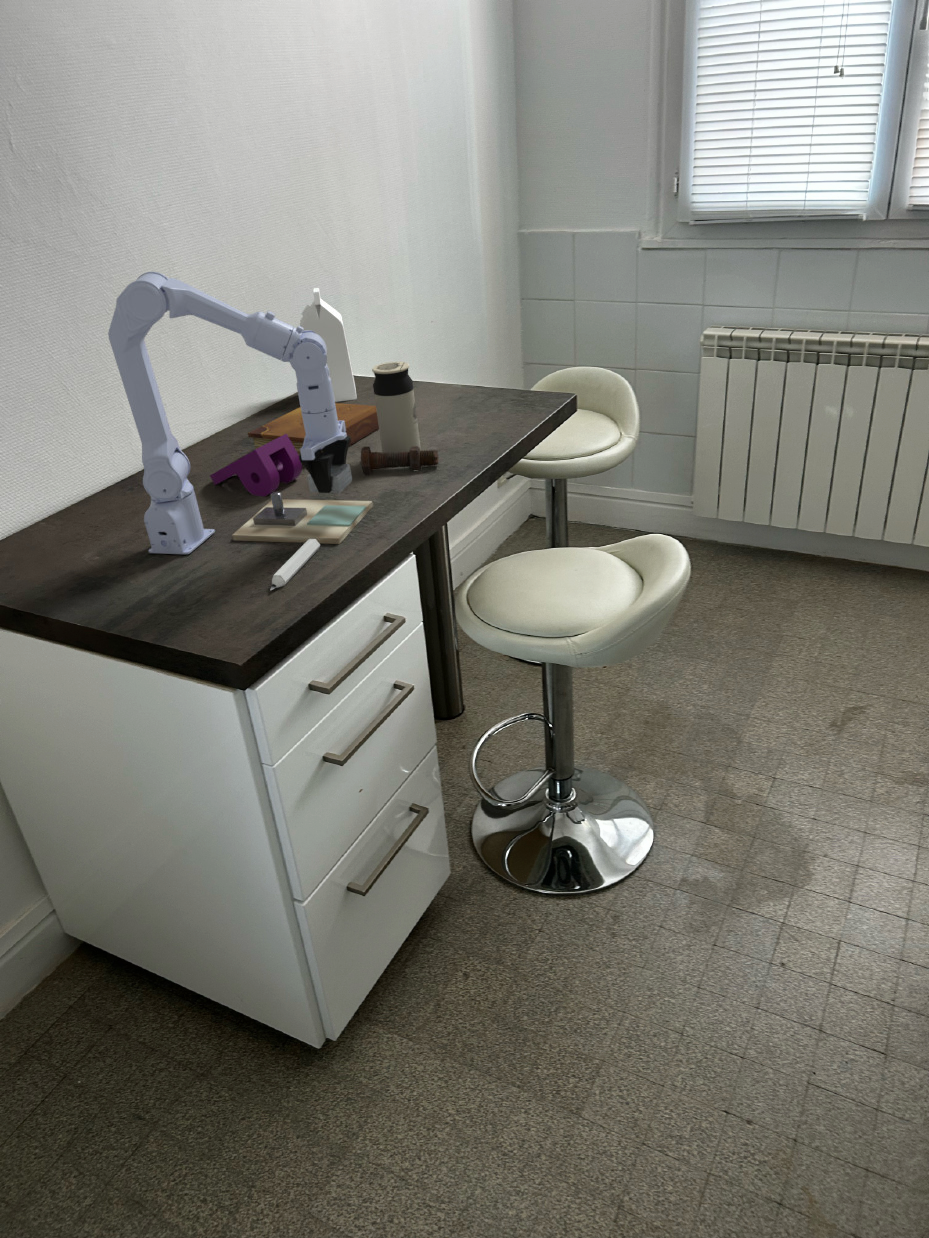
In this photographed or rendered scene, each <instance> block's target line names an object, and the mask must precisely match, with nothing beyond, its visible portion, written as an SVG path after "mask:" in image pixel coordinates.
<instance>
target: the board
mask: <svg viewBox="0 0 929 1238" xmlns="http://www.w3.org/2000/svg"><path fill="white" fill-rule="evenodd" d="M282 501H283V506H284V508H306V510H307V515H306V516H305V517H304V518H303V519H302V520H301V521H300V522H299V523H298V524H297V525H296V526H284V525H254V521H253V518H254V517H255V516H256V515H257V514H259V513H260V512H261V511H262V510H263V509H264V508H265V507H273V504H272V499H271V500H270V501H269V502H268V503H267V504H266V505H264V506H263V507H262V508H261V509H260V510H259V511H257V513H255V514H254V515H253V516H252V517H251V518H250V519H249V520H247V521H246V522H245V523H244V524H243V525H241V526H240V527H239V528H238V529H236V531H235V532H234V533H232V535H231V536H232V541H242V542H244V541H246V542H249V541H250V542H270V543H271V542H272V543H273V542H275V543H297V544H298V543H299V544H300V543H301V544H302V543H303V544H305V543H306V542H307V541H308V540H309V539H316V540H317V541H318V543H319V544H331V545H333V544H335V545H340V544H342V542H343V541H344V539H346V538H347V536H348V535H349V534H350V533H351V532H352V531H353V530H354V528H355V527H356V526H357V525H358V524H359V523H360V521H362V519H364V517H365V516H366V515H367V514H368V513H369V511H370V510H371V509H372V508H373V507H374V505H373V504H374V503H373V501H372V500H334V499H333V500H332V499H330V500H329V499H324V500H323V499H287V498H286V499H285V498H284V499H283V498H282Z"/></svg>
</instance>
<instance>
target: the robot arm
mask: <svg viewBox="0 0 929 1238" xmlns="http://www.w3.org/2000/svg"><path fill="white" fill-rule="evenodd" d="M167 312H169V314H168V315H169V316H168V317H169V319H174V318H181V317H186V316H193V317H197V318H199V319H201V320H204V321H207V322H209V323H211V324H214V325H217V326H220V327H222V328H224V329H227V330H230V331H232V332H234V333H237V334H239V335H241V337H242V338H243V340H244V342H245V345H246V346H247V347H249V348H251V349H254V350H256V351H257V352H261V353H263V354H266V355H267V356H270V357H272V358H274V359H277V360H279V361H281V362H282V363H289V364H290V367H291V368H292V369H293V370H294V371H295V377H296V389H297V394H298V399H299V405H300V407H301V412H302V417H303V423H304V428H305V434H306V436H305V438H304V443H303V446H302V448H301V449H300V452H301V454H300V455H299V460H300V462H301V464H302V466H303V467H304V468H305V469H306V470H307V472H308V475H309V474H310V475H311V477H312V479H313V481H314V483H315V486H316V488H317V490H318V492H319V494H331V493H330V492H331V487H332V484H331V464H347V457H348V451H349V447H350V446H349V444H350V442H351V437H350V436H347V434H346V432H345V431H346V427H345V421H338V418H337V412H336V406H335V403H336V402H335V400H334V394H333V388H332V382H331V378H330V377H329V368H328V367H327V347H326V344H325V342H324V340H323V339H322V338H321V337H320V336H319V335H318V334H316V333H315V332H314V331H312V330H305V331H303V330H304V328H303V327H301V326H300V325H297V327H295V326H293V325H292V324H289V323H288V322H285V321H282V320H280V319H278V318H276V313H275V312H272V311H270V310H267V311H266V313H264V312H263V311H260V310H259V311H256V312H254V313H250V314H248V313H246V312H244V311H242V310H240V309H238V308H236V307H234V306H232V305H229V304H227V303H225V302H224V301H222V300H221V299H220V300H219V299H218V298H216V297H214V296H212V295H211V294H208V293H206V292H204V291H202V290H200V289H198V288H196V287H194V286H192V285H190V284H188V283H186V282H184V281H182V280H180V279H177V278H173V277H169V278H168V277H167V276H166V275H164V274H163V273H160V272H157V271H147V272H144V273H142V274H141V275H140V276H138V277H137V278H136V280H135V281H132V282H130V283H129V284H128V285H127V286H126V287H125V288H124V290H122V292H120V294H119V295H118V297H117V298H116V302H115V308H114V312H113V314H112V319H111V322H110V325H109V329H108V334H107V335H108V340H109V344H110V347H111V350H112V354H113V356H114V360H115V362H116V366H117V369H118V372H119V375H120V379H121V381H122V384H123V389H124V390H125V395H126V398H127V400H128V404H129V407H130V411H131V413H132V414H131V415H132V417H133V420H134V423H135V425H136V429H137V432H138V435H139V439H140V442H141V462H142V465H143V469H144V471H143V477H142V485H143V487H144V489H145V492H146V493H147V494H148V495H149V496H150V504H149V505H150V506H149V507H148V508H147V510H146V511H145V512H144V517H143V523H144V525H145V529H146V533H147V536H148V539H149V543H150V546H151V548H149V549H148V553H149V554H166V555H167V554H169V555H189V554H191V553H192V552H193V551H194V550H196V549H197V548H198V547H200V546H201V544H203V543H204V542H205V541H206V540H208V538H210V537H211V536H212V535H213V534H215V533H216V530H215V529H213V528H204V524H203V520H202V516H201V512H200V508H199V505H198V500H197V496H196V493H195V489H194V485H193V484H192V483H191V482H190V480H189V479H188V476H189V474H190V472H191V463H190V460H189V458H188V456H187V455H186V454H185V453H184V452H183V451H182V449H181V448H180V444H179V442H178V441H179V440H178V439H177V438H176V437H175V436H174V435H173V433H172V430H171V427H170V423H169V420H168V416H167V413H166V409H165V406H164V403H163V400H162V396H161V393H160V390H159V386H158V382H157V379H156V376H155V372H154V369H153V366H152V362H151V359H150V356H149V355H150V354H149V352H148V349H147V346H146V342H145V338H146V337H147V335H148V333H149V332H150V330H151V329H152V327H153V326H154V325H155V324H156V323H157V322H159V321H160V320H162V318H163V317H164V316H165V314H166V313H167ZM322 451H323V453H322Z"/></svg>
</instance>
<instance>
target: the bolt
mask: <svg viewBox="0 0 929 1238" xmlns="http://www.w3.org/2000/svg"><path fill="white" fill-rule="evenodd" d="M420 448H421V447H420ZM420 448H419V447H418V446H412V447H411V448H410V451H409V452H408V451H407V452H405V451H404V452H403V451H402V452H398V451H397V452H392V453H391V452H387V453H386V452H385V453H384V452H379V451H372V450H371V446H370V445H369V446H363V447H362V448H361V450H360V464H361V471H362V474H363V475H364V476H371V475H372V473H373V471H374V470H381V469H393V468H394V469H397V468H410V470H411V471H413V472H415V471H414V470H419V471H421V470H420V469H422V467H432V466H434V467H435V466H437V465H438V464H439V451H438V449H431V450H428V449H426V450H425V449H424V450H420ZM371 472H372V473H371Z"/></svg>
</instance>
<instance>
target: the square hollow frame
mask: <svg viewBox="0 0 929 1238" xmlns="http://www.w3.org/2000/svg"><path fill="white" fill-rule="evenodd" d="M306 477H307V478H306V479H307V483H308V489H309V493H313V494H315V493H319V492H318V490H317V488H316V486H315V483H314V481H313V479H312V477H311V475H310V474H309V473H308V474H307V476H306ZM352 481H353V475H352V469H351V465H350V464H348V463H346V464H331V484H332V487H331V492H330V493H329V494H331V493H332V494H335V493H337V494H338V493H339V494H340V493H342V492H343V491H344V490H345V489H346V487H347V486H349V484H350V483H352ZM319 494H320V493H319Z"/></svg>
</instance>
